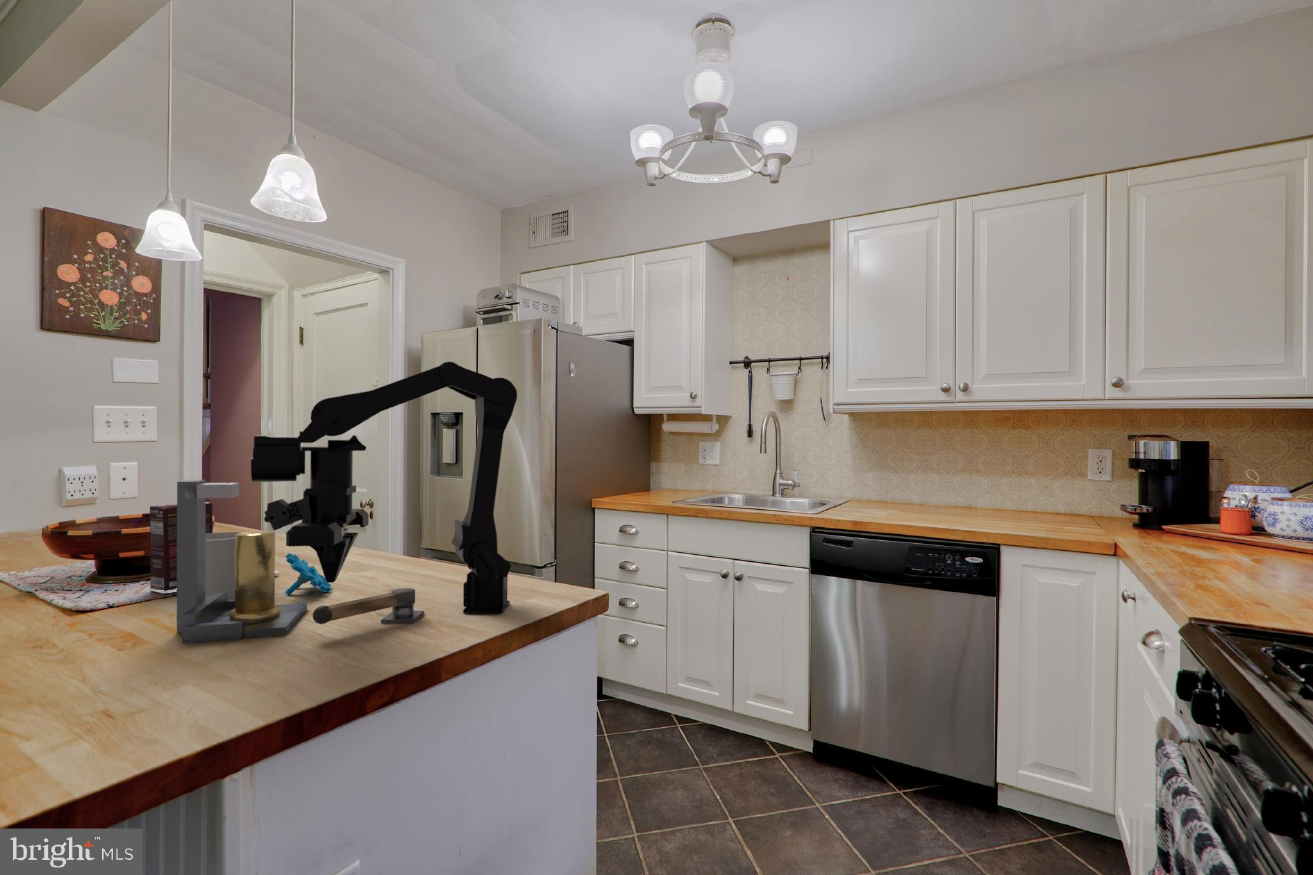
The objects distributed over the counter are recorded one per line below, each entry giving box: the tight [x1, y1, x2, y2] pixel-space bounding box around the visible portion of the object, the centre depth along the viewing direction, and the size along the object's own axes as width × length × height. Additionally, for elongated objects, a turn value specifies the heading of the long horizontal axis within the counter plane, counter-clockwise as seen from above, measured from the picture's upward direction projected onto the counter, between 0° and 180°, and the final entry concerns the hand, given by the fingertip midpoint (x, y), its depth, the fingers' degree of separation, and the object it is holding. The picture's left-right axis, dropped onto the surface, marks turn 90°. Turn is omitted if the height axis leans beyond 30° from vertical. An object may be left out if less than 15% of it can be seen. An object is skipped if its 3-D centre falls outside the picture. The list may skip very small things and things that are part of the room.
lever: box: [312, 587, 416, 625], centre depth 96 cm, size 16×4×3 cm, turn 142°
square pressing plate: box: [380, 603, 425, 625], centre depth 101 cm, size 5×5×2 cm
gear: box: [284, 552, 333, 596], centre depth 115 cm, size 11×6×10 cm
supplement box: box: [149, 501, 214, 591], centre depth 116 cm, size 9×5×16 cm, turn 157°
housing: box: [229, 530, 280, 624], centre depth 96 cm, size 7×7×13 cm
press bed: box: [176, 479, 308, 644], centre depth 96 cm, size 16×14×22 cm
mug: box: [205, 531, 243, 600], centre depth 113 cm, size 12×8×11 cm
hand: (330, 582), depth 95 cm, fingers closed
